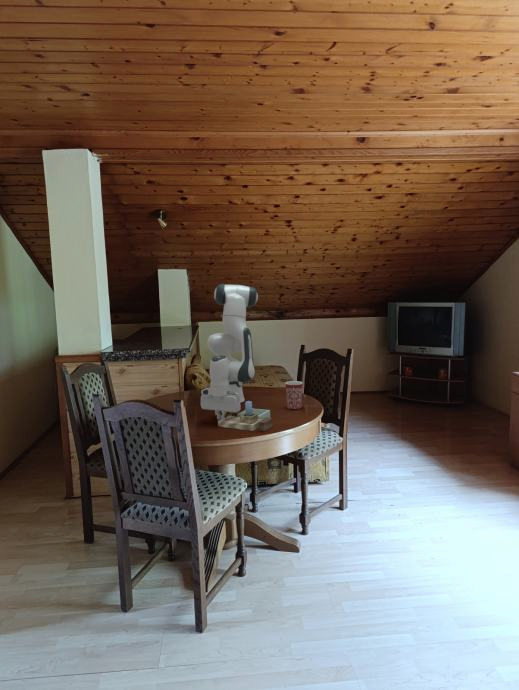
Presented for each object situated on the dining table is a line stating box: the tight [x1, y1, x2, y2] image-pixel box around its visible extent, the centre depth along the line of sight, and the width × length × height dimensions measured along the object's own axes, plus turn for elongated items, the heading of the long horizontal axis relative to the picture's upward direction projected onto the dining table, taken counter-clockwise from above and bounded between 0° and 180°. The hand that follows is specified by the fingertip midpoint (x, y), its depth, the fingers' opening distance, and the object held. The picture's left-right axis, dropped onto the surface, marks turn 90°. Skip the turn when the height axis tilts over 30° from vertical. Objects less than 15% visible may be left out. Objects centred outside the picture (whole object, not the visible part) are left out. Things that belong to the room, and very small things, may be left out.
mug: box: [284, 380, 303, 410], centre depth 241 cm, size 13×9×14 cm
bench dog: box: [257, 417, 273, 432], centre depth 205 cm, size 3×8×4 cm, turn 153°
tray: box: [236, 407, 271, 419], centre depth 220 cm, size 12×12×4 cm
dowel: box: [244, 400, 253, 417], centre depth 208 cm, size 3×3×9 cm
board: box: [217, 413, 263, 431], centre depth 210 cm, size 18×10×6 cm, turn 63°
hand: (221, 419), depth 215 cm, fingers closed
